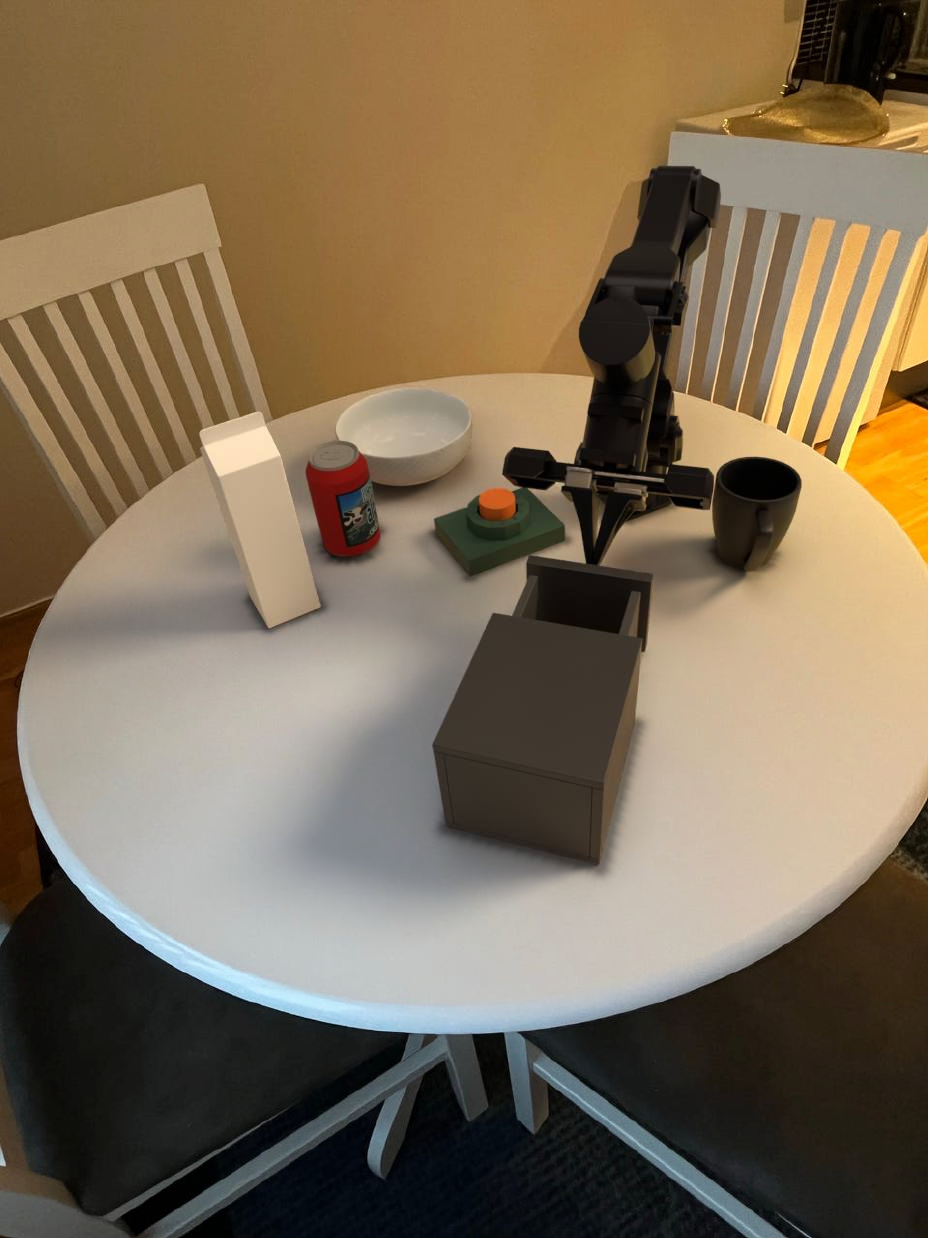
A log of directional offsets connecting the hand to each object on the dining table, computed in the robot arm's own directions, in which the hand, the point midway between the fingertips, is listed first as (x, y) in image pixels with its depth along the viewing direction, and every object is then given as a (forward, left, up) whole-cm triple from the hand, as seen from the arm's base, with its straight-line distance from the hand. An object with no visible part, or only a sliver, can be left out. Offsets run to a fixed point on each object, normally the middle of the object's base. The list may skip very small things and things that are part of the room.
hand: (591, 570), depth 76 cm
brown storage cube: (+12, +12, -8) cm, 19 cm away
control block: (0, -19, -8) cm, 21 cm away
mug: (-20, -1, -9) cm, 22 cm away
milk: (+25, -21, -9) cm, 34 cm away
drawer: (+4, +4, -7) cm, 9 cm away
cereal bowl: (+3, -38, -9) cm, 39 cm away
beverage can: (+15, -27, -9) cm, 32 cm away
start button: (0, -19, -5) cm, 19 cm away
